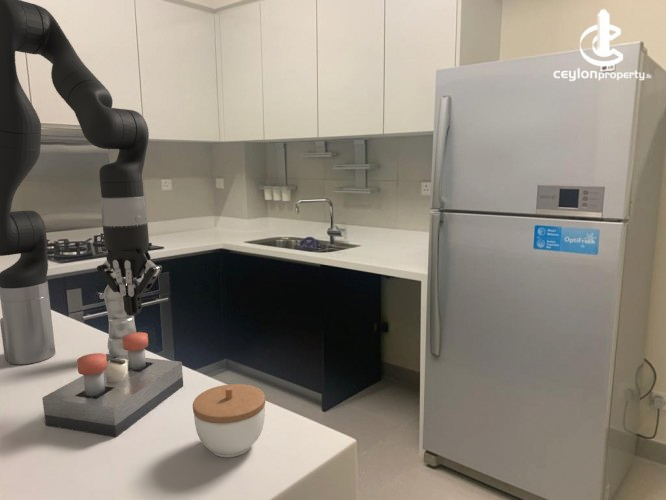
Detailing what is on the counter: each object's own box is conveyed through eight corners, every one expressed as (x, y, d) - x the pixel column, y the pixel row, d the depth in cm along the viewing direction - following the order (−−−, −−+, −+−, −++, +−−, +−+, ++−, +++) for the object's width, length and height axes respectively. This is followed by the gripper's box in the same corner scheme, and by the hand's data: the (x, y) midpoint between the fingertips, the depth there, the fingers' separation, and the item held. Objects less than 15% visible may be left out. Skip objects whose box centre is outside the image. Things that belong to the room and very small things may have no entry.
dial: (102, 380, 87) (100, 362, 86) (116, 372, 90) (115, 354, 89) (118, 383, 85) (116, 365, 85) (132, 375, 89) (131, 357, 88)
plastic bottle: (120, 349, 115) (112, 266, 112) (145, 351, 114) (139, 267, 111) (102, 360, 109) (93, 272, 106) (129, 362, 108) (121, 273, 104)
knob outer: (74, 396, 81) (70, 361, 80) (93, 384, 85) (90, 352, 84) (96, 399, 80) (93, 364, 79) (115, 387, 84) (112, 354, 83)
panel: (45, 425, 81) (42, 397, 80) (122, 378, 99) (120, 355, 99) (116, 437, 78) (113, 408, 77) (183, 385, 96) (181, 361, 95)
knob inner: (119, 369, 91) (117, 339, 90) (135, 360, 96) (132, 331, 94) (140, 372, 90) (137, 341, 89) (154, 363, 94) (152, 333, 93)
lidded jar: (222, 422, 82) (219, 370, 80) (279, 434, 78) (277, 379, 76) (180, 458, 72) (176, 398, 70) (243, 474, 68) (240, 411, 66)
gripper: (169, 220, 90) (176, 311, 93) (109, 219, 94) (117, 306, 96) (143, 224, 83) (151, 322, 86) (79, 224, 86) (89, 318, 89)
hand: (133, 314), depth 91 cm, fingers closed
